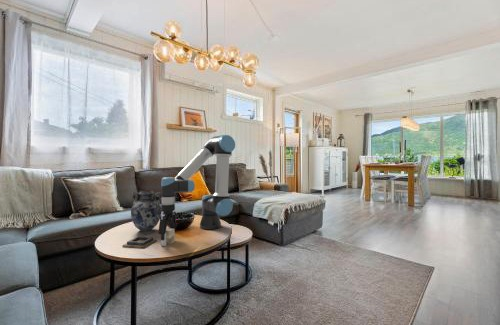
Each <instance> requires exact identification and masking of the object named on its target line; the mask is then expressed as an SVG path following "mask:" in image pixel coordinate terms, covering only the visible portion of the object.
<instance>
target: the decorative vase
mask: <svg viewBox="0 0 500 325" xmlns="http://www.w3.org/2000/svg"><path fill="white" fill-rule="evenodd" d="M131 198H133V200H134V201H133V203H132V206H131V209H130V217H131V220H132V224H133V225H134V226H135V228H137V229H138V231H137V234H138V235H139V234H140V235H147V234H148V235H149V234H153V233H154V232H155V230H154V228H156V226H157V225H159V223H160V216H162V213H163V211H161V205H162V204H161V202H160V201H161V191H159V192H154V191H153V190H150V189H149V190H140V191H139V192H137V191H135V190H134V191H132V192H131Z"/></svg>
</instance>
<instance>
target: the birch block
mask: <svg viewBox="0 0 500 325" xmlns="http://www.w3.org/2000/svg"><path fill="white" fill-rule="evenodd" d="M165 234H166V246H167V245H168V246H170V245H172V244H173V243H175V240H174V228H170V227H167V228H166V232H165Z"/></svg>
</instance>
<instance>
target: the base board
mask: <svg viewBox="0 0 500 325" xmlns="http://www.w3.org/2000/svg"><path fill="white" fill-rule="evenodd" d="M157 241H158V239H157V238H154V237H152V236H151V237H150V236H136V237H134V238H132V239H129V240H127V241H126V243H124V244H123V245H122V248H132V249H145V248H147V247H149V246H151V245H152V244H155V243H156V242H157Z"/></svg>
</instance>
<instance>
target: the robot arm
mask: <svg viewBox="0 0 500 325" xmlns="http://www.w3.org/2000/svg"><path fill="white" fill-rule="evenodd" d="M235 148H236V142H235V139H234V138H233V137H232V136H231V135H229V134H222V135H216V136H213V137H211V138H210V139H208V140H207V142H206V143H205V144H203V145H202V146H201V147H200V149H201V150H200V151H199V152H198V153H196V155H195V156H194V157H193V158H192V159H191V160H190V162H188V163H187V165H186V166H185V167H184V168H183V169H181V171H180V172H179V173H178V174H177V175H176V176H175V177H172V176H171V177H170V176H168V177H167V176H166V177H162V178H161V182H160V183H161V184H160V189H161V191H160V192H161V198H160V201H161V202H160V205H161V211H162V213H163V214H161V216H160V220H159V223H158V225H159V226H158V235H160V246H162V247H166V246H167V245H166V234H165V232H166V228H168V224H169V228H174V241H175V236H176V235H175V230H176V229H177V226H178V223H176V220H177V218H176V214H177V212H176V211H175V209H176V194H181V193H191V192H194V191H195V186H196V185H195V181H194V180H192V179H191V178H192V177H193V175H194V174H196V172H197V171H199V169H200V168H201V167H202V166H203V165H204V164H205V163H206V161H208V160H209V158H212V157H213V156H215V157H216V163H215V164H216V167H215V183H214V185H215V187H214V188H215V190H214V193H213V194H206V195H205V194H204V195H203V196H202V198H201V207H202V208H201V212H202V213H201V219H200V223H199V228H200V229H203V230H215V229H216V230H217V229H219V228H221V227H222V223H221V218H220V216H221V217H225V216H226V217H227V216H228V215H229V214H230V213H231V212H232V210H233V208H234V207H233V206H234V204H233V202H232V200H231V194H230V193H229V177H230V176H229V175H230V173H229V170H230V158H231V156H232V154H233V153H232V152H234V150H235Z"/></svg>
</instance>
